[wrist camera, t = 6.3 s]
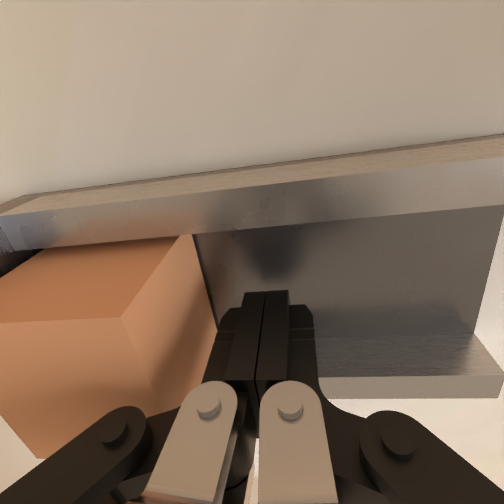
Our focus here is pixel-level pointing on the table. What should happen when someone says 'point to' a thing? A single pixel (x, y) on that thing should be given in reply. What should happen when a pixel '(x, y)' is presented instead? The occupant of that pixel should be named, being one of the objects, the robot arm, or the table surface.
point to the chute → (324, 253)
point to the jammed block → (100, 335)
